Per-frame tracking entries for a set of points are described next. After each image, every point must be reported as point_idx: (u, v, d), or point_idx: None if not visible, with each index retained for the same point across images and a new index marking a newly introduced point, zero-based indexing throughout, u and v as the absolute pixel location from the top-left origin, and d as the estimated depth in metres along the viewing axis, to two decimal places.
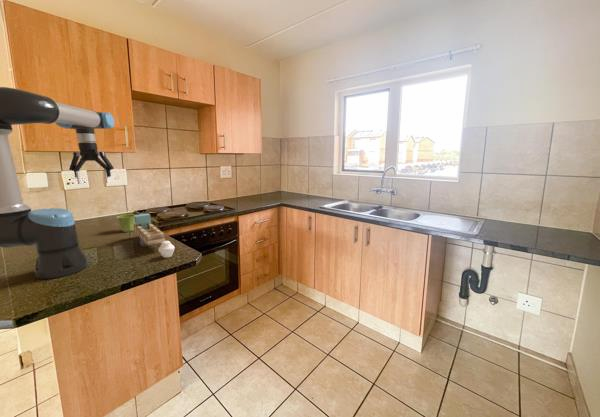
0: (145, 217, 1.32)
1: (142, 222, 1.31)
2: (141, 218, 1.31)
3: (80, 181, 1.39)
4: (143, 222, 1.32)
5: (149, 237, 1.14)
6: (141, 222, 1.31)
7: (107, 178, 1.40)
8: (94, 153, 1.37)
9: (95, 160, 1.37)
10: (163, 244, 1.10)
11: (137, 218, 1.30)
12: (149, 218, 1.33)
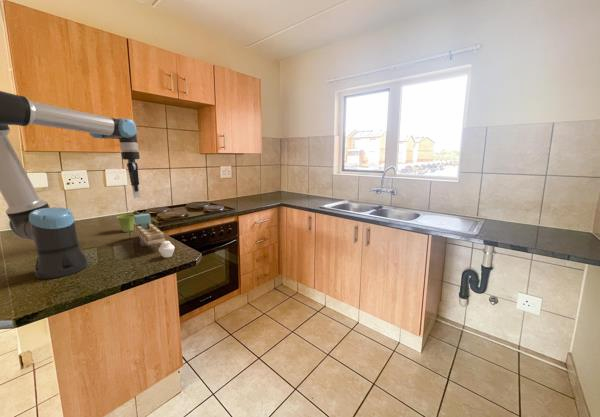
0: (145, 217, 1.32)
1: (142, 222, 1.31)
2: (141, 218, 1.31)
3: None
4: (143, 222, 1.32)
5: (149, 237, 1.14)
6: (141, 222, 1.31)
7: (135, 193, 1.36)
8: (130, 163, 1.31)
9: (129, 171, 1.33)
10: (163, 244, 1.10)
11: (137, 218, 1.30)
12: (149, 218, 1.33)
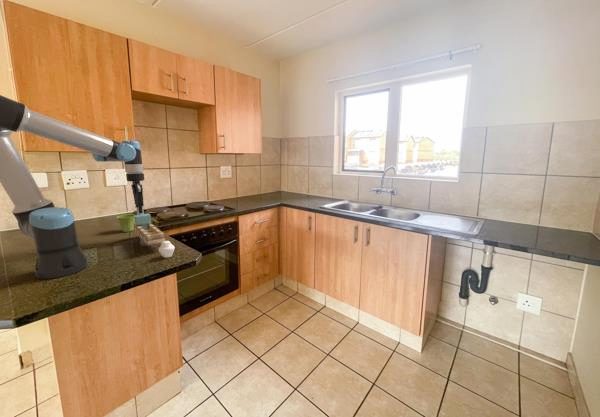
0: (145, 217, 1.31)
1: (142, 222, 1.31)
2: (141, 218, 1.30)
3: None
4: (143, 222, 1.31)
5: (149, 237, 1.14)
6: (141, 222, 1.31)
7: (139, 214, 1.34)
8: (135, 185, 1.29)
9: (134, 193, 1.31)
10: (163, 244, 1.10)
11: (137, 218, 1.29)
12: (149, 218, 1.33)
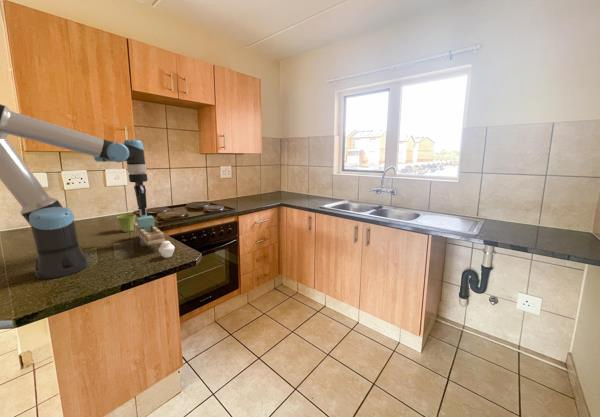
0: (148, 220, 1.26)
1: (145, 225, 1.26)
2: (144, 221, 1.25)
3: None
4: (146, 225, 1.26)
5: (149, 237, 1.14)
6: (144, 225, 1.26)
7: None
8: (138, 186, 1.24)
9: (137, 194, 1.26)
10: (163, 244, 1.10)
11: (140, 221, 1.24)
12: (153, 221, 1.28)
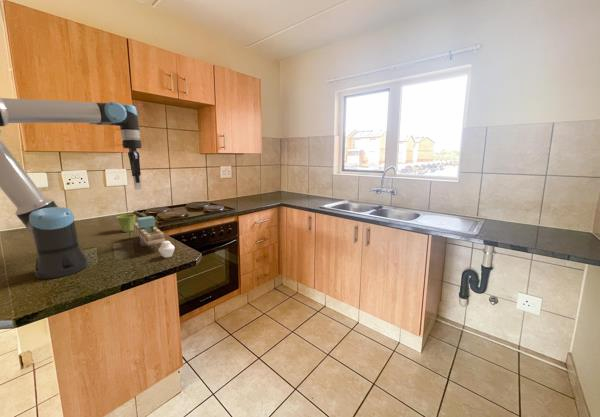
0: (149, 220, 1.26)
1: (146, 225, 1.25)
2: (145, 221, 1.25)
3: None
4: (147, 225, 1.25)
5: (149, 237, 1.14)
6: (145, 225, 1.25)
7: (136, 184, 1.28)
8: (131, 152, 1.23)
9: (130, 161, 1.25)
10: (163, 244, 1.10)
11: (141, 221, 1.23)
12: (153, 221, 1.27)
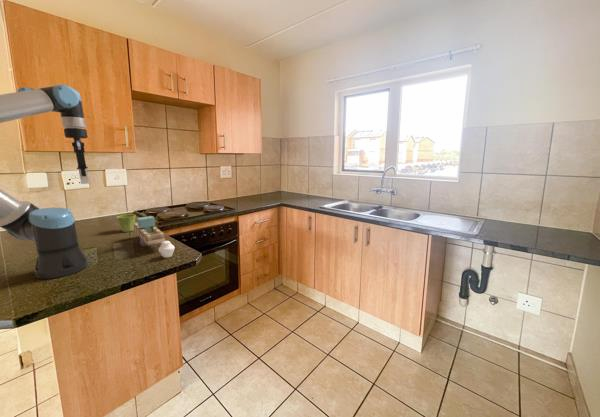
0: (149, 220, 1.26)
1: (146, 225, 1.25)
2: (145, 221, 1.25)
3: None
4: (147, 225, 1.25)
5: (149, 237, 1.14)
6: (145, 225, 1.25)
7: (82, 178, 1.16)
8: (74, 141, 1.10)
9: None
10: (163, 244, 1.10)
11: (141, 221, 1.23)
12: (153, 221, 1.27)
